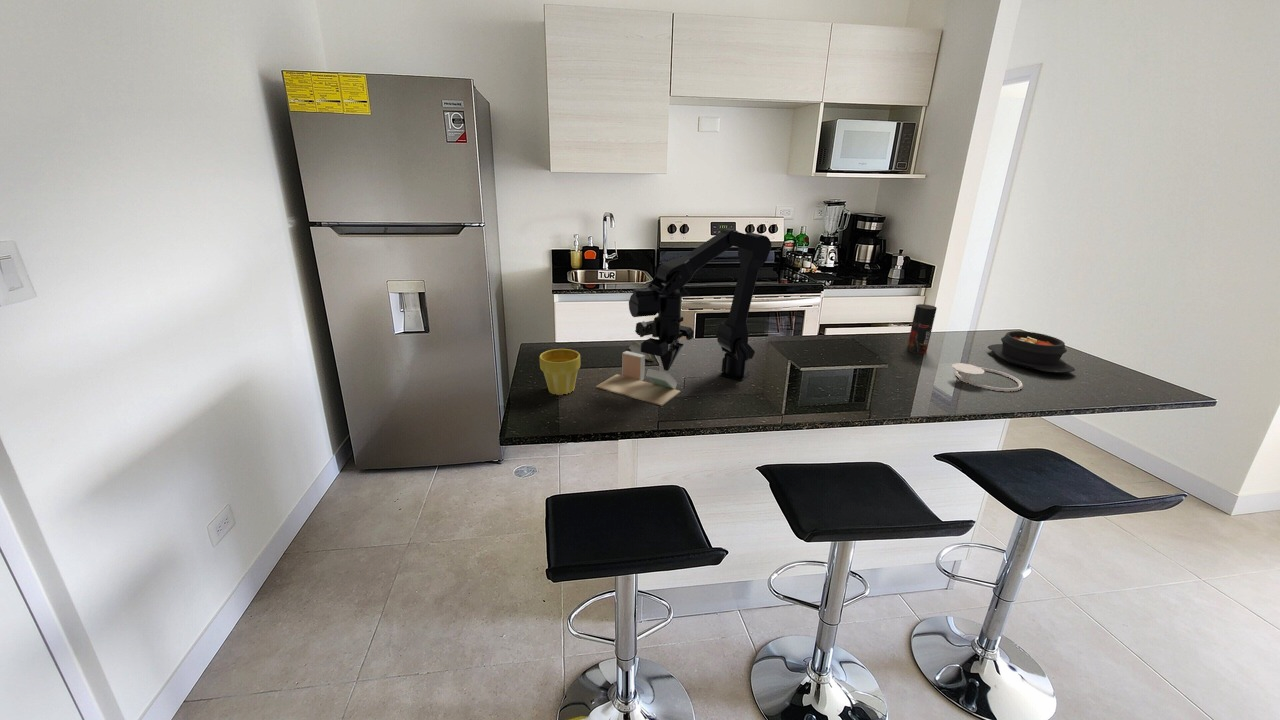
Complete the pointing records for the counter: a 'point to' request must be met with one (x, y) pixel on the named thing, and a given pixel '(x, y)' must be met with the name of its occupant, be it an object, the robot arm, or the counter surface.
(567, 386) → the plant pot
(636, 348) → the ceramic fragment
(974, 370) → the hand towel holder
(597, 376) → the counter surface
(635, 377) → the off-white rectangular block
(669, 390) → the cork mat
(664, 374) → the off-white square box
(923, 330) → the deodorant
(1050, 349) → the casserole
